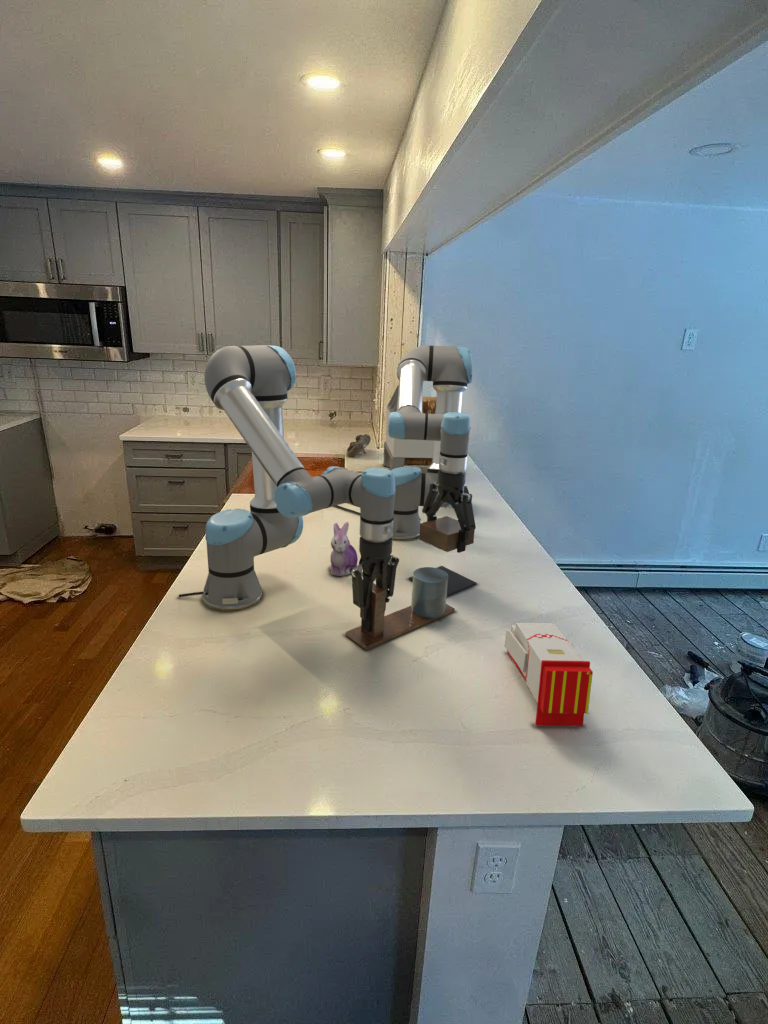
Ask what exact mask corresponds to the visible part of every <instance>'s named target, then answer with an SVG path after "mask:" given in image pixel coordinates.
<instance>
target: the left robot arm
mask: <svg viewBox="0 0 768 1024" xmlns="http://www.w3.org/2000/svg"><path fill="white" fill-rule="evenodd" d="M203 375H204V379H203V380H204V386H205V389H206V392H207V394H208V396H209V398H210V400H211V401H212V404H214V406H215V408H217V409H218V410H220V411H224V412H225V414H226V416H227V418H228V419H229V420H230V422H231V423H232V424H233V426H234V427H235V429H236V430H237V432H238V433H239V435H240V436H241V438H242V439H243V440H244V442H245V444H246V445H247V446H248V448H249V449H250V451H251V462H252V474H253V475H252V476H253V487H254V488H253V489H254V497H253V498H252V499H251V500H250V501H249V510H248V509H244V508H233V509H230V508H229V509H225V510H222V511H219V512H216V513H215V514H213V515H211V516H210V517H209V519H208V520H207V521H206V524H205V535H204V536H205V543H206V556H207V569H208V574H207V577H206V580H205V584H204V587H203V590H202V591H195V592H188V593H181V594H178V598H185V597H191V596H199V595H202V600H203V603H204V605H205V606H206V607H208V608H210V609H213V610H215V611H216V610H217V611H220V612H221V611H222V612H234V611H240V610H241V611H242V610H244V609H248V608H251V607H253V606H255V605H256V604H258V603H259V602H260V601H261V599H262V598H263V589H262V585H261V583H260V580H259V578H258V575H257V572H256V570H255V557H258V556H261V555H263V554H266V553H269V552H272V551H275V550H278V549H284V548H286V547H288V546H289V545H292V544H294V543H296V542H297V541H298V540H299V539H300V538H301V536H302V533H303V530H304V518H303V517H305V516H307V515H309V514H311V513H315V512H318V511H322V510H325V509H329V508H333V507H335V506H336V505H338V506H340V505H343V504H348V505H351V506H354V507H357V508H359V509H360V510H359V513H360V515H359V516H360V517H359V536H360V537H359V541H358V543H359V544H358V545H359V546H358V551H359V555H360V558H359V561H358V564H357V567H355V568H350V570H349V572H350V574H349V575H350V576H351V588H352V604H353V605H354V606H356V607H358V608H359V617H360V619H361V618H362V628H363V629H365V630H366V631H367V632H371V623H372V607H371V606H370V600H371V594H372V587H373V583H374V582H375V584H376V585H378V586H379V587H381V588H383V589H384V590H386V595H385V611H386V609H387V604H388V603H389V602H390V598H391V597H393V596H394V592H395V584H396V577H397V568H398V565H399V564H400V563H399V562H400V558H399V557H397V556H395V555H393V554H392V553H393V541H394V539H392V538H391V537H392V535H393V518H394V516H393V514H394V501H395V493H396V489H395V475H394V473H393V472H392V471H390V469H388V468H381V467H369V468H366V469H364V470H363V471H362V472H361V473H360V472H358V471H355V470H352V469H348V468H347V467H344V466H336V465H332V466H329V467H327V468H326V470H324V471H322V473H321V474H320V475H315V476H311V475H310V473H309V471H308V470H307V469H306V468H305V466H304V464H303V463H302V462H301V460H299V458H298V457H297V455H296V454H295V452H294V451H293V449H292V448H291V446H290V445H289V443H288V442H287V441H286V439H285V434H284V433H285V432H284V416H283V406H284V404H285V403H287V401H288V399H289V398H288V392H289V391H290V390H292V389H293V388H294V386H295V383H296V381H297V371H296V366H295V363H294V361H293V359H292V357H291V355H289V353H288V352H287V350H285V348H283V347H281V346H278V345H268V344H261V345H260V344H258V345H257V344H255V345H227V346H223V347H221V348H219V349H217V350H216V351H215V352H214V353H213V354H212V355H211V356H209V358H208V361H207V362H206V365H205V368H204V374H203ZM389 597H390V598H389Z"/></svg>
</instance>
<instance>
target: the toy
mask: <svg viewBox="0 0 768 1024" xmlns="http://www.w3.org/2000/svg"><path fill="white" fill-rule="evenodd" d="M503 645H504V647H505V649H506V650H507V655H508V656H509V658H510V659H511V662H513V664H514V666H515V667H516V669H517V670H518V672H519V673H520V675H521V676H522V679H523V680H524V681H525V683H526V686H527V687H528V689H529V690H530V693H531V694H532V696H533V698H534V700H535V701H536V703H537V704H536V714H535V722H534V723H535V726H537V727H541V726H542V727H583V726H584V719H585V715H586V714H587V715H588V714H589V706H590V705H589V704H590V699H591V691H592V683H593V682H592V681H593V674H594V673H593V672H594V671H593V670H592V669H591V668H590V667H591V661H590V660H584V659H583V658H582V657H581V655H580V654H579V653H578V651H577V650H576V649H575V648H574V647H573V645H572V644H571V643H570V642H569V640H568V639H567V638H566V636H564V633H562V632H561V630H560V629H559V628H558V627H557V625H556V624H555V623H553V622H515V624H511V625H510V628H506V630H505V638H504V644H503Z"/></svg>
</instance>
